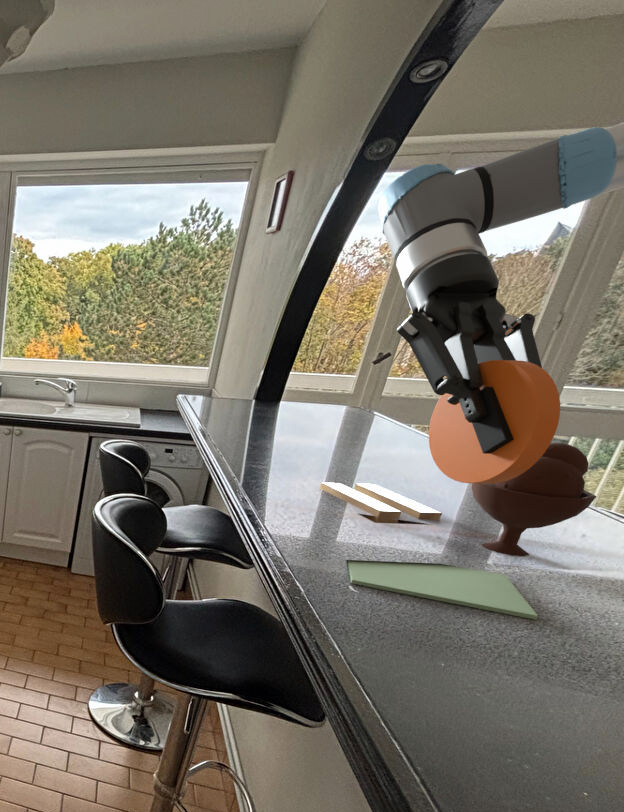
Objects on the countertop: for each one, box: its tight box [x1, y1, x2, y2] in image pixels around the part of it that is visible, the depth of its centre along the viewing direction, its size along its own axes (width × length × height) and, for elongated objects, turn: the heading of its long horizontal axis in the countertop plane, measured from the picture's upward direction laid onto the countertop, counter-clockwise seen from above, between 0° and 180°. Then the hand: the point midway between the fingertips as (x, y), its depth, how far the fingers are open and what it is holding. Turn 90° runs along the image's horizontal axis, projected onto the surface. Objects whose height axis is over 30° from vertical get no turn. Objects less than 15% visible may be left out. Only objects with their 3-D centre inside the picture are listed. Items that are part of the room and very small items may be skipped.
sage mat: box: [345, 559, 539, 621], centre depth 70 cm, size 16×12×1 cm
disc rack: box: [319, 482, 443, 526], centre depth 93 cm, size 9×15×3 cm, turn 175°
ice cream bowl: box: [471, 441, 598, 557], centre depth 75 cm, size 11×11×15 cm
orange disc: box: [428, 360, 561, 484], centre depth 63 cm, size 2×13×13 cm, turn 175°
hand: (512, 446), depth 60 cm, fingers closed on orange disc, 2 cm apart
